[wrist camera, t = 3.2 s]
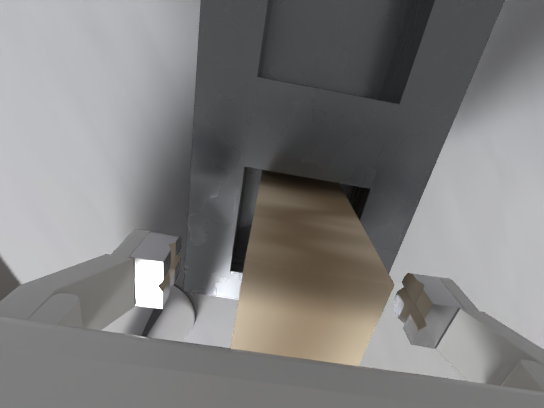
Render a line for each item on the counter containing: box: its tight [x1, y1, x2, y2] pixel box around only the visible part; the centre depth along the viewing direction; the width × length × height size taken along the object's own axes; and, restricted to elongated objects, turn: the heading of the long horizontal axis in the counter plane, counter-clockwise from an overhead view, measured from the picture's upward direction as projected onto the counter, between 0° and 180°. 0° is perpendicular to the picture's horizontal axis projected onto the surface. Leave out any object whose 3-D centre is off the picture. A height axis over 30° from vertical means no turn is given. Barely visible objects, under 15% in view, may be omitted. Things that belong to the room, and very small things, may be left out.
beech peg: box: [231, 170, 394, 366], centre depth 12 cm, size 4×4×8 cm
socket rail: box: [183, 0, 505, 300], centre depth 11 cm, size 27×10×4 cm, turn 170°
